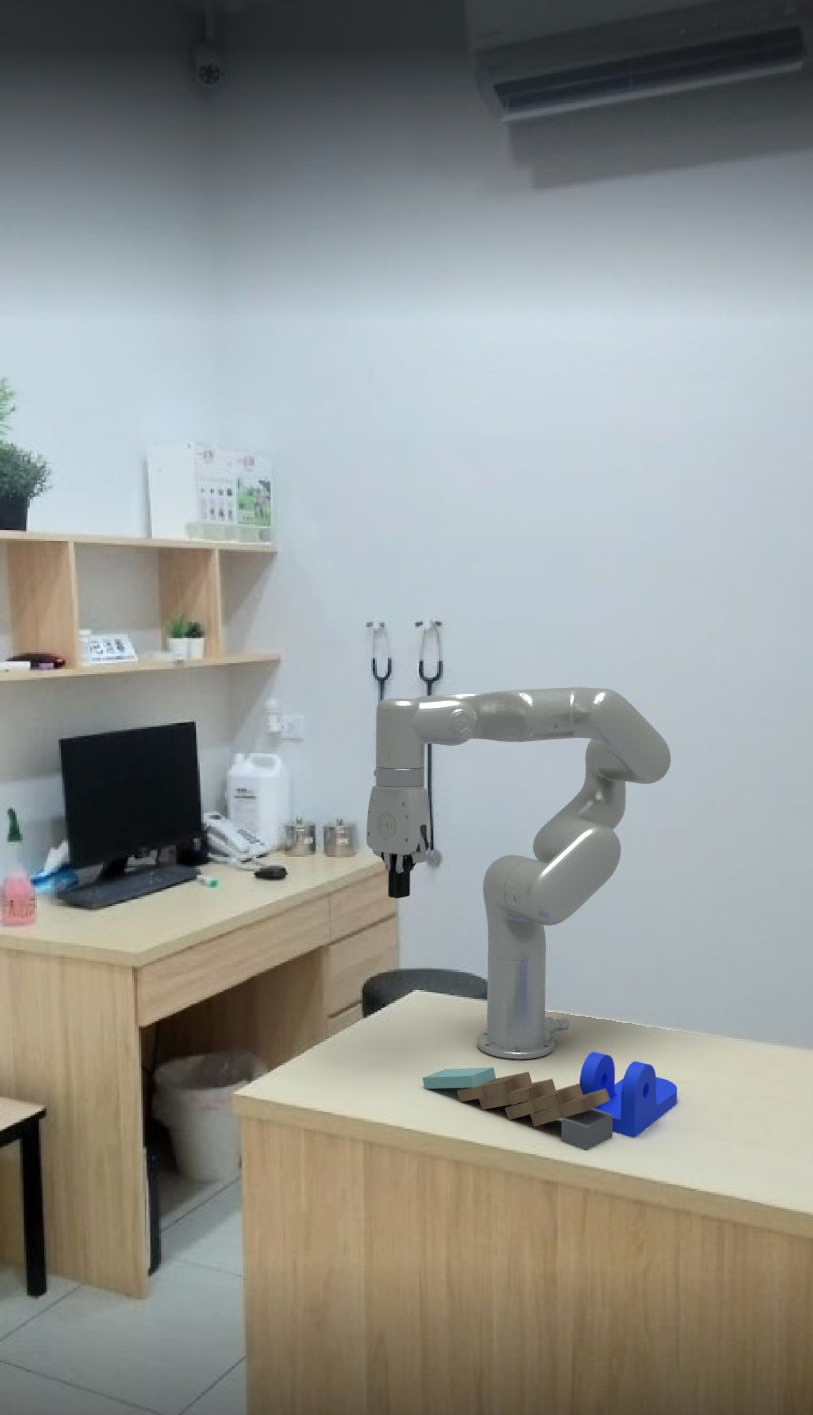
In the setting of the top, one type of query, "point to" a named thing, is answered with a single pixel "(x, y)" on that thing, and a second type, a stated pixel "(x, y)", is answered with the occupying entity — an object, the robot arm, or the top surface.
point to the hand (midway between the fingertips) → (399, 896)
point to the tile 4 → (544, 1102)
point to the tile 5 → (571, 1107)
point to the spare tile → (459, 1078)
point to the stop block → (587, 1128)
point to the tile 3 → (519, 1094)
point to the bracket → (628, 1093)
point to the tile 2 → (495, 1087)
